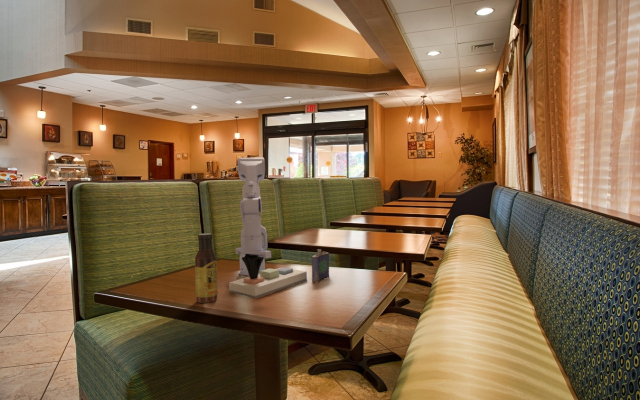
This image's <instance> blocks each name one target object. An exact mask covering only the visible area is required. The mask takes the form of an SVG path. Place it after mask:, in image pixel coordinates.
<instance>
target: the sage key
mask: <svg viewBox="0 0 640 400" xmlns="http://www.w3.org/2000/svg"><path fill="white" fill-rule="evenodd" d="M276 269H277V268H269V267H268V268H265V270H262V271H260V277H263V278H264V279H273V278H276V277H279V270H276Z"/></svg>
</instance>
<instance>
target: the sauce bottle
mask: <svg viewBox="0 0 640 400" xmlns="http://www.w3.org/2000/svg"><path fill="white" fill-rule="evenodd" d="M197 239H198V251H197V253H196V255H195V257H194V263H195V266H194V274H195V275H194V278H195V281H194V282H195V297H196V302H197V303H199V304H208V303H213V302H215V301H217V299H218V288H219V287H218V260H217V257H216V254H215V252H214V249H213V234H212V233H199V234H197Z"/></svg>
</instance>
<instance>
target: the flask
mask: <svg viewBox="0 0 640 400" xmlns="http://www.w3.org/2000/svg"><path fill="white" fill-rule="evenodd" d="M316 251H317V254H314V255H312V256H311V282H312V283H319V282H322V281H324V280H326V279H329V278H330V252H327V251H322V249H321V248H320V249H319V248H318V249H316Z"/></svg>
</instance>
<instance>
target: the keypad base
mask: <svg viewBox="0 0 640 400" xmlns="http://www.w3.org/2000/svg"><path fill="white" fill-rule="evenodd" d="M280 268H283V266H282V267H279V268H277V269H280ZM292 269H293V272H292V273H289V274H286V275H282V274H279V277H276V278H273V279H264V281H263V282H260V283H257V284H254V285H253V284H248V283H244V279H245V278H248V277H249V276H247V277H244V278H240V279H237V280H233V281H230V282H228V283H229V284H228V286H229V287H228V288H229V289H228V290H229V293H232V294H235V295H239V296H243V297H248V298H251V299H259V298H262V297H264V296H267V295H270V294H273V293H275V292H279V291H282V290H284V289H287V288H290V287H292V286H293V287H294V286H296V285H298V284H299V285H300V284H302V283H304V282H307V281H308V277H307V276H308V274H307V271H306V270H299V269H294V268H292ZM258 277H260V274H258Z"/></svg>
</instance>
